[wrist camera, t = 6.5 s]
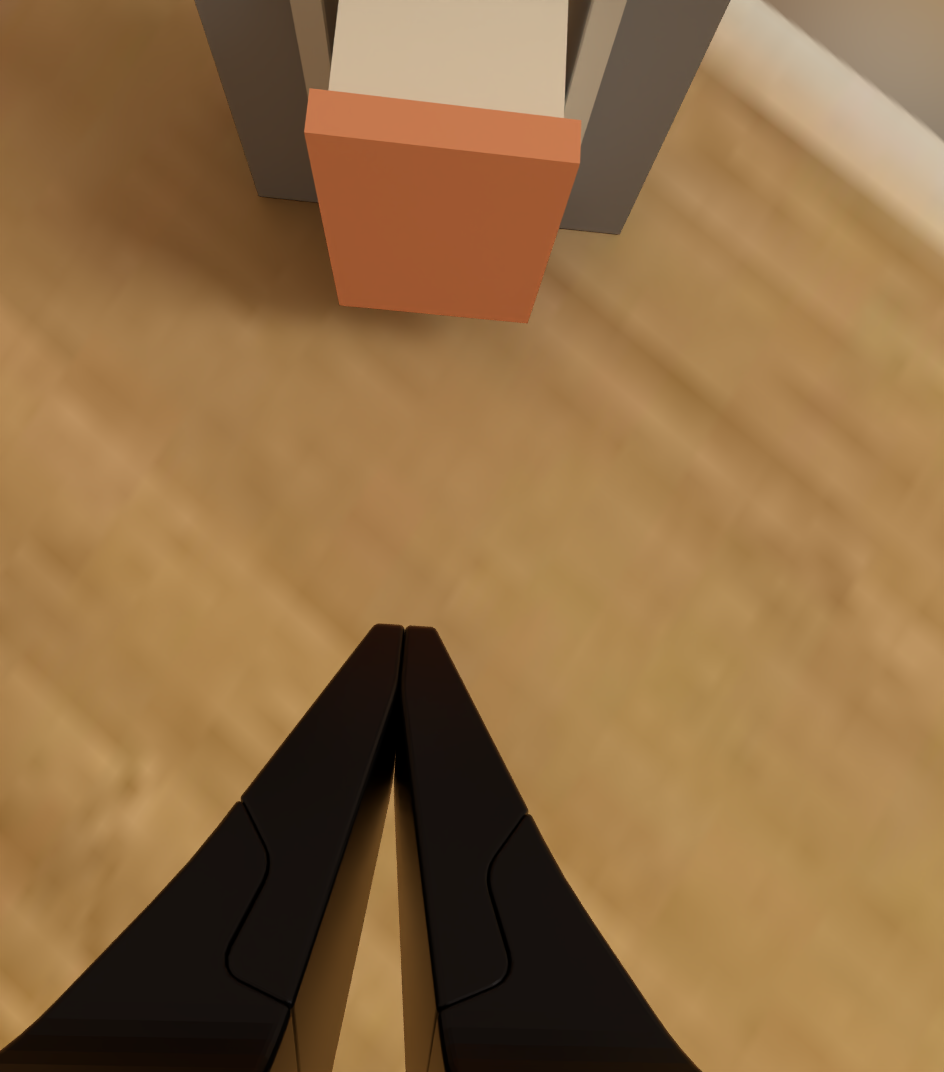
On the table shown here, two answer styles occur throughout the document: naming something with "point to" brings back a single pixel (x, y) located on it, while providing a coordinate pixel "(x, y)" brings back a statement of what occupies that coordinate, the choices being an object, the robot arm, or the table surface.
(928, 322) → the table surface
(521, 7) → the plunger
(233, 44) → the box
